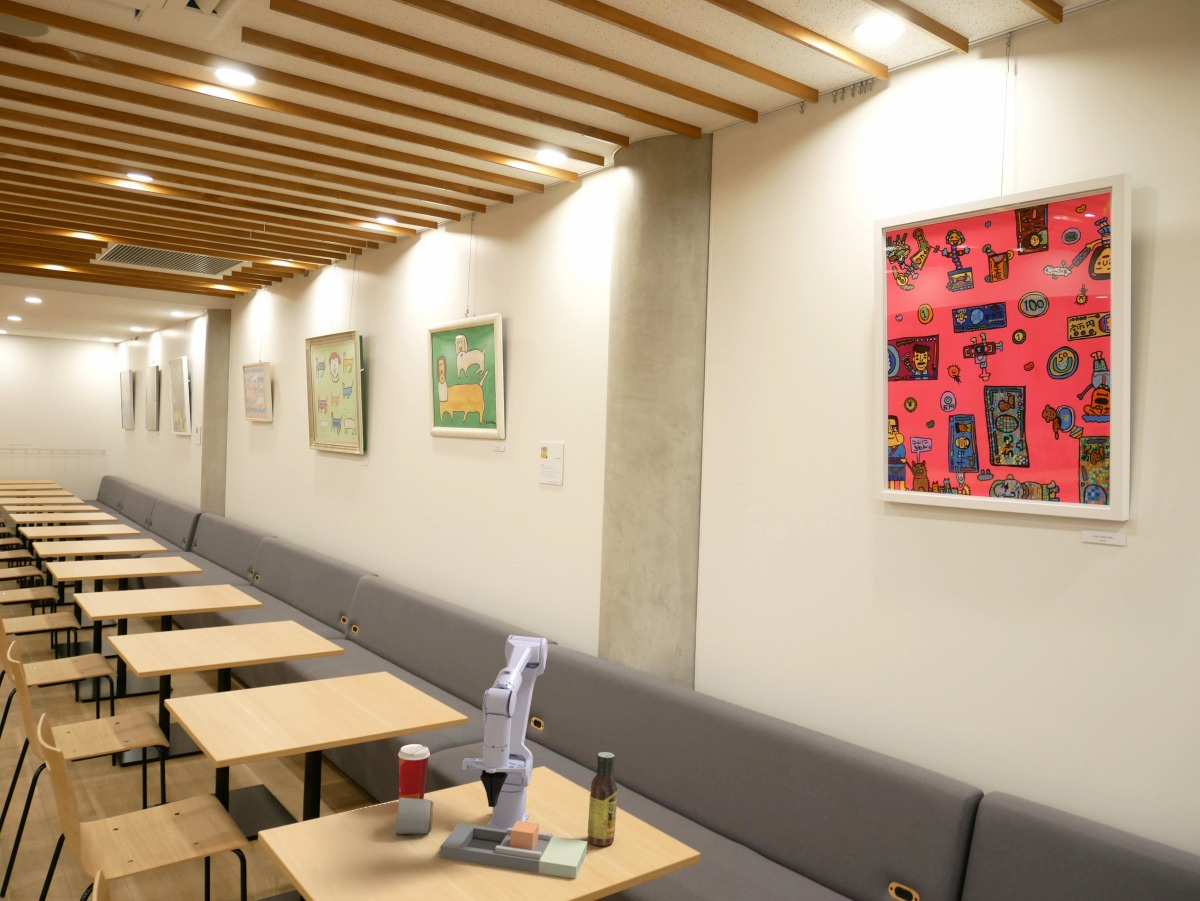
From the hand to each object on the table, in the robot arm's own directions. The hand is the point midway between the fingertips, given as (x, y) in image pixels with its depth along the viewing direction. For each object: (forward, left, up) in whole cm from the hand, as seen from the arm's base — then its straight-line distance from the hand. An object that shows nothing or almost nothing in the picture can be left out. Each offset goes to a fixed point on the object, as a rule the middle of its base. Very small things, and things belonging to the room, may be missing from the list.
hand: (492, 805), depth 191 cm
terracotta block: (0, +7, -8) cm, 11 cm away
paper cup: (-17, -26, -11) cm, 32 cm away
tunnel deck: (0, +5, -10) cm, 12 cm away
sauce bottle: (-13, +22, -11) cm, 28 cm away
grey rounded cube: (-5, -20, -11) cm, 24 cm away
